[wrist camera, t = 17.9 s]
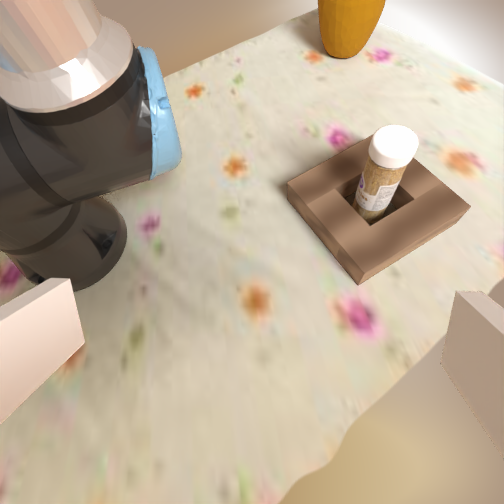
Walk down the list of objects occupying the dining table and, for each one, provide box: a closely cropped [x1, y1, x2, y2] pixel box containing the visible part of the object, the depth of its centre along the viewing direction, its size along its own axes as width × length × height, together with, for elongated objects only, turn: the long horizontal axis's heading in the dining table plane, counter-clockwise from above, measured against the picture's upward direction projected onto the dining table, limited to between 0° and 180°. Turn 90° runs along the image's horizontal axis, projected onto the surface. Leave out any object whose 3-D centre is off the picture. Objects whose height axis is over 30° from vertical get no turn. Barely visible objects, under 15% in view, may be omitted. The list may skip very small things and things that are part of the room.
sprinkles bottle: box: [352, 125, 418, 224], centre depth 38 cm, size 5×5×14 cm
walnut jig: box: [287, 134, 471, 285], centre depth 42 cm, size 16×16×4 cm
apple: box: [318, 0, 385, 58], centre depth 54 cm, size 11×11×13 cm
